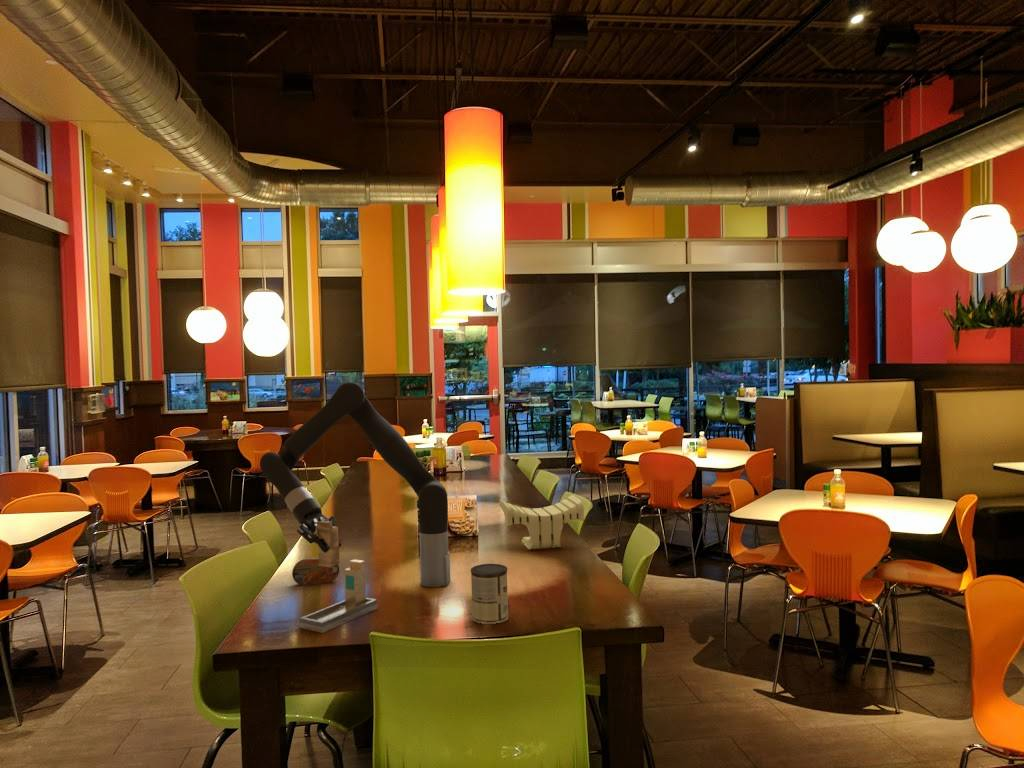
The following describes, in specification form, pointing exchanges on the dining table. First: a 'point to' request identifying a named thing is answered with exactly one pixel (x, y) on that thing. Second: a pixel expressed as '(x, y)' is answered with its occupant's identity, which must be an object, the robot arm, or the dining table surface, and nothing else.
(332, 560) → the maple finger
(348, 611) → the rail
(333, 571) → the tin
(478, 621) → the coffee can
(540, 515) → the slatted curved stool
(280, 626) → the dining table surface
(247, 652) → the dining table surface
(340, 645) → the dining table surface
